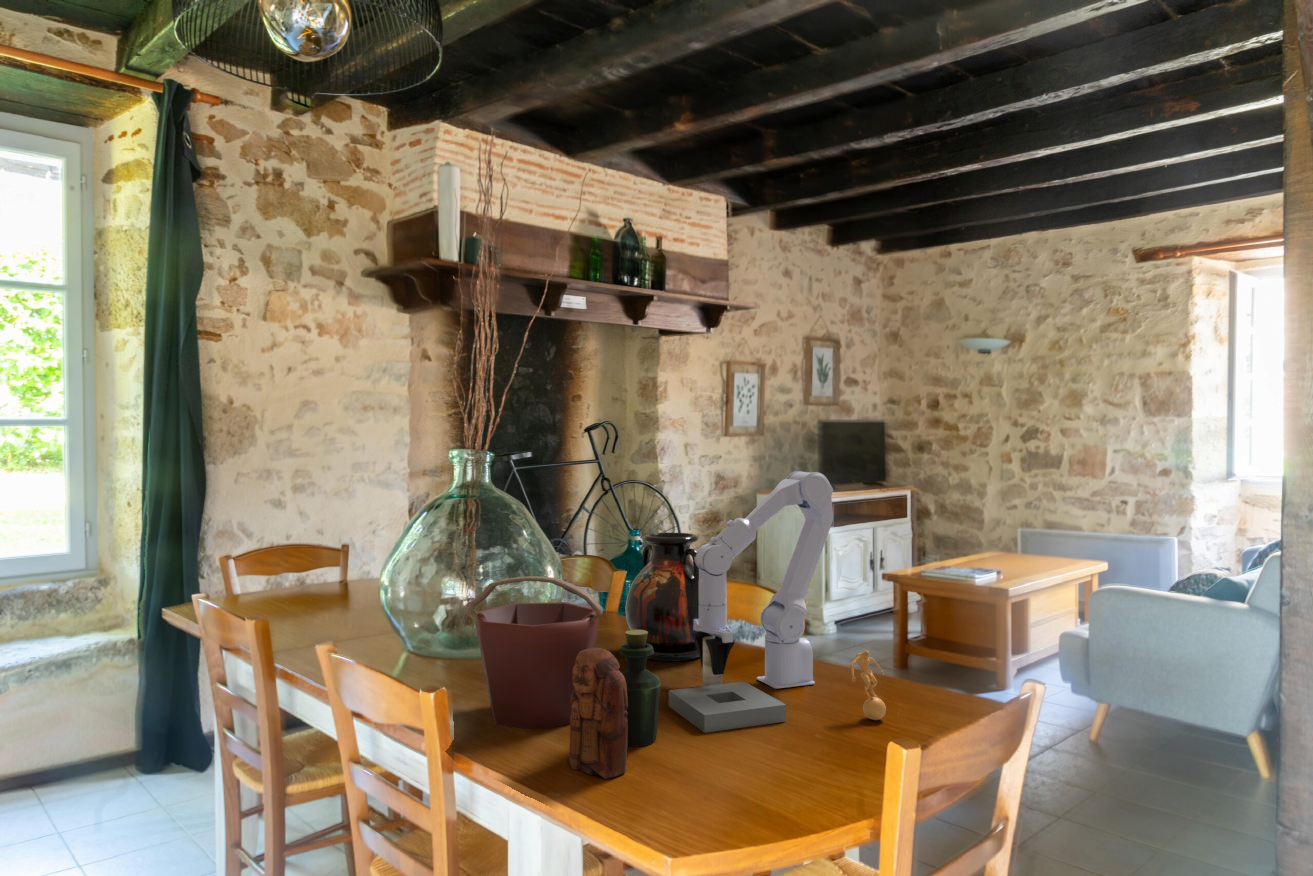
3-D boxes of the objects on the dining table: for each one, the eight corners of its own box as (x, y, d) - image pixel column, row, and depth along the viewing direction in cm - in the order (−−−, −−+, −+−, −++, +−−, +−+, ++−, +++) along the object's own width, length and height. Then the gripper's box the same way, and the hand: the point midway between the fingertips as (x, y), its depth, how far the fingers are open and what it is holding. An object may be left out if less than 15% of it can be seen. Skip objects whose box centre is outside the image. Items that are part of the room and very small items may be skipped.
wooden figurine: (555, 762, 134) (555, 646, 134) (586, 752, 139) (586, 640, 139) (606, 783, 126) (606, 660, 126) (637, 772, 130) (637, 652, 131)
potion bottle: (665, 733, 148) (665, 628, 148) (655, 750, 140) (655, 638, 140) (619, 730, 149) (619, 626, 149) (606, 746, 141) (606, 636, 141)
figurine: (867, 727, 151) (867, 658, 151) (841, 718, 156) (841, 651, 156) (898, 718, 156) (898, 651, 156) (872, 709, 161) (872, 645, 161)
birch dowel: (717, 684, 178) (717, 635, 178) (725, 689, 174) (725, 639, 174) (699, 686, 176) (699, 637, 176) (708, 691, 172) (707, 641, 173)
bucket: (445, 724, 153) (445, 582, 153) (511, 690, 173) (511, 566, 173) (569, 741, 144) (569, 591, 144) (622, 704, 164) (622, 572, 164)
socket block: (744, 697, 169) (744, 681, 169) (786, 721, 154) (786, 704, 154) (668, 706, 163) (668, 690, 163) (704, 732, 148) (704, 715, 148)
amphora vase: (606, 653, 204) (606, 534, 204) (672, 639, 218) (672, 528, 218) (668, 671, 188) (668, 542, 188) (736, 655, 202) (735, 535, 203)
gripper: (680, 599, 180) (680, 664, 180) (710, 611, 167) (710, 682, 167) (710, 596, 183) (711, 661, 183) (742, 609, 170) (742, 678, 169)
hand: (712, 671), depth 175 cm, fingers open, 5 cm apart
